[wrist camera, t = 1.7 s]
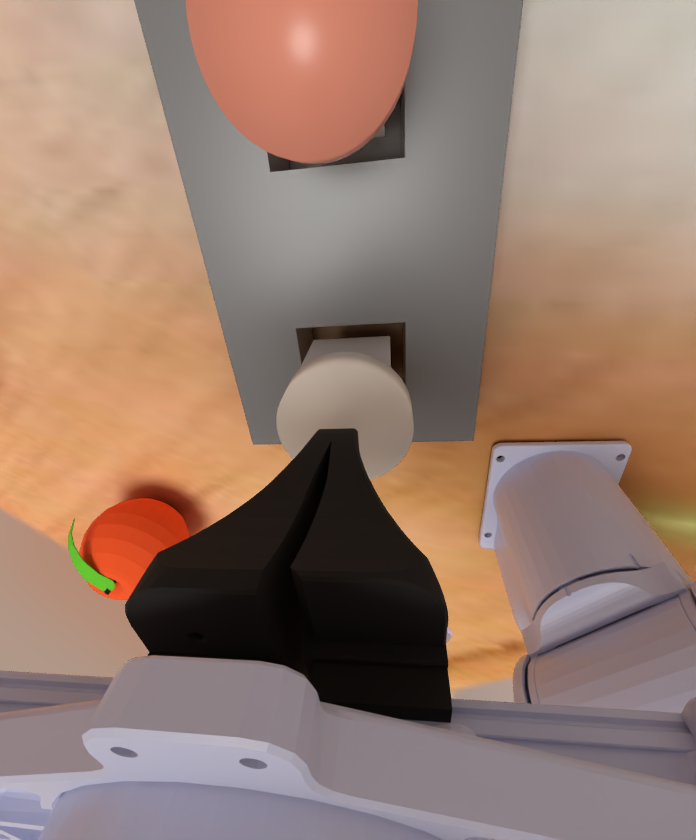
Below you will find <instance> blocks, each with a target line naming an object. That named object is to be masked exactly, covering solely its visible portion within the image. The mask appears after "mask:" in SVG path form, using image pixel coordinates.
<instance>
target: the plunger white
mask: <svg viewBox="0 0 696 840" xmlns="http://www.w3.org/2000/svg"><path fill="white" fill-rule="evenodd" d="M276 425H277V432H278V435H279V438H280V441H281V443H282V445H283V447H284V448H285V450H286V452H287V453H288V454H289V455H290V457H291V458H292V459H294V458H295V457H296V456H297V454H298V453H299V452H300V451H301V450H302V449H303V447H304V446H305V445H306V444H307V443H308V441H309V440H310V439H311V438H312V436H313V435H314V434H315V433H316V432H317V431H318V430H319V429H343V428H355V429H356V430H357V431H358V439H359V451H360V456H361V459H362V461H363V464H364V467H365V470H366V472H367V475H368V477H369V479H374V478H376V477H379V476H381V475H383V474H385V473H387V472H389V471H390V470H391V469H393V468H394V467H395V466H396V465H398V464H399V463H400V462H401V460H402V459H403V458H404V457H405V455H406V454H407V452H408V450H409V448H410V445H411V443H412V439H413V432H414V424H413V414H412V405H411V399H410V395H409V392H408V390H407V387H406V385H405V384H404V382H403V380H402V379H401V378H400V376H399V375H398V374H397V373H396V372H395V371H394V370H393V369H392V368H391V354H390V336H378V337H359V338H339V339H320V340H313V342H312V344H311V346H310V348H309V350H308V353H307V355H306V357H305V359H304V361H303V363H302V365H301V367H300V369H299V370H298V371H297V372H296V374H295V375H294V376H293V378H292V379H291V381H290V383H289V385H288V387H287V389H286V391H285V393H284V395H283V397H282V399H281V401H280V404H279V407H278V410H277V416H276Z"/></svg>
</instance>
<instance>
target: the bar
mask: <svg viewBox="0 0 696 840" xmlns="http://www.w3.org/2000/svg"><path fill="white" fill-rule="evenodd" d="M134 1H135V5H136V9H137V13H138V16H139V20H140V24H141V28H142V31H143V35H144V39H145V42H146V46H147V50H148V54H149V57H150V61H151V65H152V69H153V72H154V76H155V80H156V84H157V87H158V91H159V95H160V99H161V102H162V106H163V110H164V114H165V117H166V121H167V125H168V128H169V132H170V136H171V140H172V143H173V147H174V151H175V155H176V158H177V162H178V166H179V170H180V173H181V177H182V181H183V185H184V188H185V192H186V196H187V199H188V203H189V207H190V211H191V214H192V218H193V222H194V226H195V229H196V233H197V237H198V241H199V244H200V248H201V252H202V256H203V259H204V263H205V267H206V270H207V274H208V278H209V282H210V285H211V289H212V293H213V297H214V300H215V304H216V308H217V312H218V315H219V319H220V323H221V327H222V330H223V334H224V338H225V341H226V345H227V349H228V353H229V356H230V360H231V364H232V368H233V371H234V375H235V379H236V383H237V386H238V390H239V394H240V398H241V401H242V405H243V409H244V412H245V416H246V420H247V424H248V427H249V431H250V435H251V439H252V442H253V445H255V444H282V443H281V441H280V438H279V435H278V432H277V425H276V416H277V410H278V407H279V404H280V401H281V399H282V397H283V395H284V393H285V391H286V389H287V387H288V385H289V383H290V381H291V379H292V378H293V376H294V375H295V374H296V372H297V371H298V370H299V369H300V367H301V365H302V363H303V361H304V359H305V357H306V355H307V353H308V350H309V348H310V346H311V344H312V342H313V340H314V339H313V332H312V327H327V326H345V325H363V324H381V323H399V322H403V382H404V384H405V385H406V387H407V390H408V392H409V395H410V399H411V405H412V414H413V424H414V432H413V439H412V442H429V441H474V433H475V424H476V415H477V406H478V397H479V388H480V379H481V371H482V362H483V353H484V344H485V335H486V326H487V317H488V308H489V299H490V290H491V281H492V272H493V263H494V255H495V246H496V237H497V228H498V219H499V210H500V201H501V192H502V183H503V174H504V165H505V156H506V148H507V139H508V130H509V121H510V112H511V103H512V94H513V85H514V76H515V67H516V58H517V49H518V41H519V32H520V23H521V14H522V5H523V0H418V9H417V25H416V32H415V39H414V45H413V51H412V56H411V61H410V66H409V70H408V74H407V78H406V81H405V84H404V87H403V90H402V93H401V125H402V158H397V159H387V160H378V161H369V162H360V163H350V164H341V165H332V166H323V167H313V168H304V169H295V170H290V166H289V160H288V159H285V158H281V157H278V156H275V155H273V154H271V153H269V152H267V151H265V150H263V149H261V148H260V147H258V146H257V145H255V144H254V143H252V142H251V141H250V140H248V139H247V138H246V137H245V136H244V135H243V134H241V133H240V132H239V131H238V130H237V128H236V127H235V126H234V125H233V124H232V123H231V122H230V121H229V120H228V118H227V117H226V116H225V114H224V113H223V112H222V110H221V109H220V108H219V106H218V104H217V103H216V101H215V99H214V98H213V96H212V94H211V93H210V90H209V88H208V86H207V84H206V82H205V80H204V78H203V76H202V73H201V70H200V67H199V65H198V62H197V59H196V56H195V52H194V49H193V45H192V41H191V37H190V32H189V26H188V20H187V12H186V0H134Z"/></svg>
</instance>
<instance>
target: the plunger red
mask: <svg viewBox="0 0 696 840" xmlns="http://www.w3.org/2000/svg"><path fill="white" fill-rule="evenodd" d="M417 9H418V0H186V12H187V20H188V26H189V32H190V37H191V41H192V45H193V49H194V52H195V56H196V59H197V62H198V65H199V67H200V70H201V73H202V76H203V78H204V80H205V82H206V84H207V86H208V88H209V90H210V93H211V94H212V96H213V98H214V99H215V101H216V103H217V104H218V106H219V108H220V109H221V110H222V112H223V113H224V114H225V116H226V117H227V118H228V120H229V121H230V122H231V123H232V124H233V125H234V126H235V127H236V128H237V130H238V131H239V132H240V133H241V134H243V135H244V136H245V137H246V138H247V139H248V140H250V141H251V142H252V143H254V144H255V145H257V146H258V147H260V148H261V149H263V150H265V151H267V152H269V153H271V154H273V155H275V156H278V157H281V158H285V159H288V160H292V161H296V162H300V163H307V164H325V163H330V162H335V161H337V160H340V159H343V158H346V157H348V156H349V155H351V154H353V153H355V152H357V151H358V150H359V149H361V148H362V147H363V146H365V145H366V144H367V143H368V142H369V141H370V140H371V139H372V138H376V137H385V126H384V124H385V123H386V121H387V120H388V118H389V117H390V115H391V113H392V112H393V110H394V108H395V106H396V104H397V102H398V100H399V98H400V95H401V93H402V90H403V87H404V84H405V81H406V78H407V74H408V70H409V66H410V61H411V56H412V51H413V45H414V39H415V32H416V25H417Z"/></svg>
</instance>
